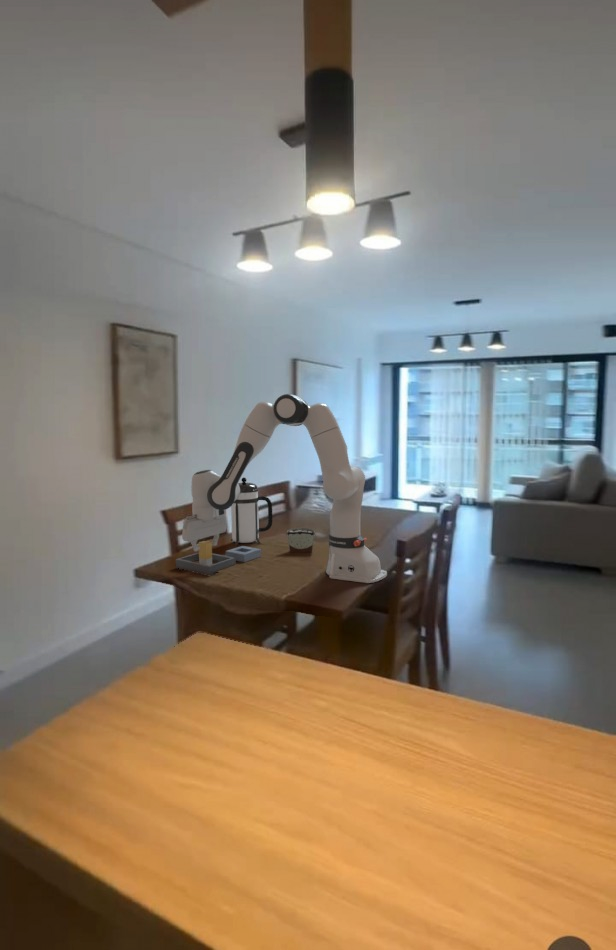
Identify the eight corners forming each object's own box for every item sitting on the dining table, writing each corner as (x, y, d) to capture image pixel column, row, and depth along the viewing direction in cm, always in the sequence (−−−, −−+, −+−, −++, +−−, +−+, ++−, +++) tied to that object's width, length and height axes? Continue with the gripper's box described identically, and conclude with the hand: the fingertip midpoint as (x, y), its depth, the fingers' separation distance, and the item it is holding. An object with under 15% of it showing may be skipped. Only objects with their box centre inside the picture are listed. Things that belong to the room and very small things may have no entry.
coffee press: (250, 549, 237) (248, 480, 234) (222, 544, 246) (220, 478, 242) (273, 540, 252) (272, 476, 248) (246, 536, 260) (244, 474, 257)
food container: (316, 550, 234) (316, 527, 233) (315, 554, 228) (315, 531, 227) (288, 550, 235) (287, 527, 234) (286, 554, 229) (285, 530, 228)
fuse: (212, 565, 211) (211, 542, 210) (206, 567, 209) (205, 544, 208) (205, 563, 213) (204, 541, 212) (199, 565, 211) (198, 542, 210)
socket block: (261, 558, 222) (261, 549, 222) (244, 564, 214) (244, 554, 214) (242, 555, 228) (242, 545, 228) (225, 560, 220) (225, 551, 219)
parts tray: (235, 566, 212) (235, 557, 211) (209, 576, 200) (209, 566, 200) (202, 559, 222) (202, 551, 221) (176, 568, 211) (175, 559, 210)
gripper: (189, 518, 198) (191, 555, 200) (228, 509, 215) (229, 543, 216) (177, 516, 202) (179, 553, 203) (217, 507, 218) (218, 541, 220)
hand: (205, 548), depth 210 cm, fingers open, 8 cm apart
